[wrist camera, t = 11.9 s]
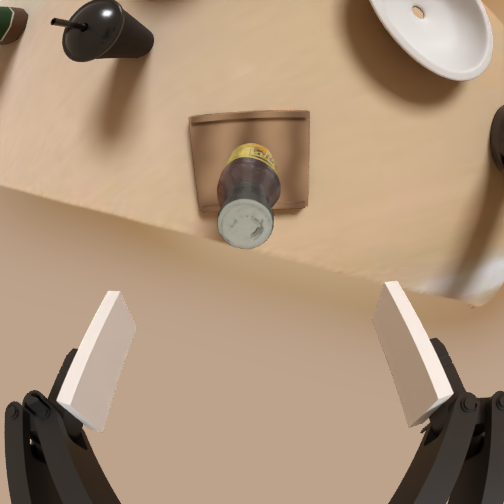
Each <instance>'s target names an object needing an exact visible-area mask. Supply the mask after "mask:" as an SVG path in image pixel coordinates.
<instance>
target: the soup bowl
mask: <svg viewBox="0 0 504 504" xmlns="http://www.w3.org/2000/svg"><path fill="white" fill-rule="evenodd" d="M369 1H370V3H371V6H372V8H373V9H374V11H375V13H376V15H377V17H378V18H379V20H380V21H381V23H382V24H383V26H384V27H385V29H386V30H387V31H388V33H389V34H390V35H391V36H392V38H393V39H394V40H395V41H396V42H397V43H398V45H399V46H400V47H401V48H402V49H403V50H404V51H405V52H406V53H407V54H408V55H409V56H411V57H412V58H413V59H414V60H415V61H417V62H418V63H419V64H421V65H422V66H423V67H425V68H426V69H428V70H430V71H431V72H433V73H435V74H437V75H439V76H441V77H444V78H447V79H450V80H455V81H467V80H471V79H474V78H476V77H478V76H479V75H481V74H482V73H483V72H484V71H485V69H486V68H487V66H488V65H489V62H490V60H491V56H492V51H493V36H492V30H491V25H490V22H489V19H488V16H487V13H486V11H485V8H484V6H483V4H482V2H481V1H480V0H369ZM413 6H417V7H419V8H420V9H421V10H422V11H423V13H424V17H423V18H422V19H419V18H417V17H416V16H415V15H414V13H413V11H412V7H413Z"/></svg>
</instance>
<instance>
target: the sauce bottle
mask: <svg viewBox="0 0 504 504" xmlns="http://www.w3.org/2000/svg"><path fill="white" fill-rule="evenodd" d="M280 194H281V183H280V179H279V175H278V171H277V168H276V164H275V161H274V158H273V156H272V154H271V152H270V151H269V150H268V149H267V148H265V147H264V146H262V145H260V144H256V143H247V144H243V145H241V146H239V147H237V148H236V149H235V150H233V152H232V153H231V155H230V157H229V159H228V161H227V163H226V165H225V167H224V169H223V171H222V173H221V176H220V179H219V182H218V186H217V197H218V202H219V204H220V207H221V208H220V211H219V214H218V220H217V226H218V231H219V233H220V235H221V236H222V237H223V239H224V240H225V241H226V242H227V243H228V244H230V245H232V246H234V247H238V248H242V249H251V248H255V247H257V246H260V245H261V244H263V243H264V242H265V241H266V240H267V239H268V238H269V236H270V235H271V232H272V230H273V224H274V216H273V211H272V209H271V208H272V207H273V206H274V205H275V203H276V202H277V201H278V199H279V197H280Z"/></svg>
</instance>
